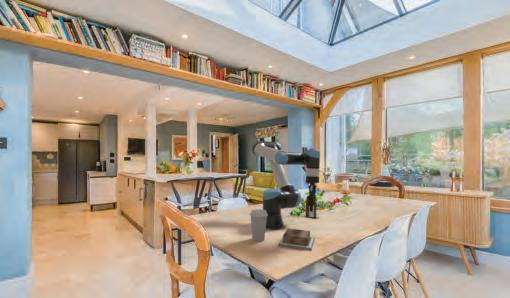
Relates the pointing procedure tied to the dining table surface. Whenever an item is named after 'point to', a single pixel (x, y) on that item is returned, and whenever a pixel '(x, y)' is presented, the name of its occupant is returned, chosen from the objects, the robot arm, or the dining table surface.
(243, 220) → the dining table surface
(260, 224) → the coffee cup
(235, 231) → the dining table surface
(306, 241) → the pedestal
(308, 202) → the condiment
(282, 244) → the plan board
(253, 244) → the dining table surface
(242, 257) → the dining table surface
